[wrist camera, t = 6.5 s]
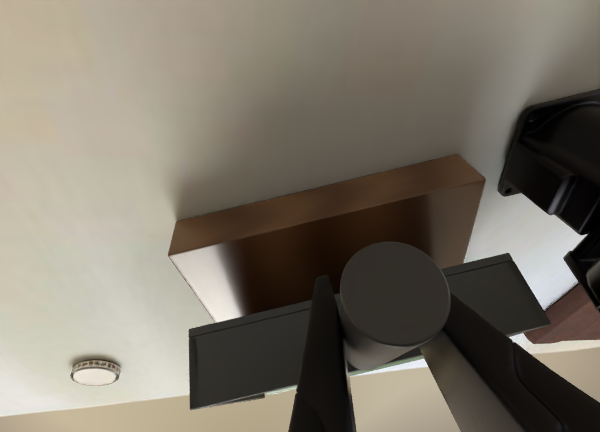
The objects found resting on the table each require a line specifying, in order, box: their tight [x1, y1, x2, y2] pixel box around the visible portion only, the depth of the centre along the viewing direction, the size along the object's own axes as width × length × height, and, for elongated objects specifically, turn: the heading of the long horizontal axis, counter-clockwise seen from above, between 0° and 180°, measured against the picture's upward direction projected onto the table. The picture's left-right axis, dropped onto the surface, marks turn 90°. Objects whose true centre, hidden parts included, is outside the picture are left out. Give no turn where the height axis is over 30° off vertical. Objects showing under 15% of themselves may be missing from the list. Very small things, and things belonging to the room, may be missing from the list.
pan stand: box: [168, 154, 486, 323], centre depth 22 cm, size 19×13×3 cm
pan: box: [189, 241, 551, 410], centre depth 15 cm, size 22×16×4 cm
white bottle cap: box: [70, 360, 121, 386], centre depth 29 cm, size 4×4×1 cm
